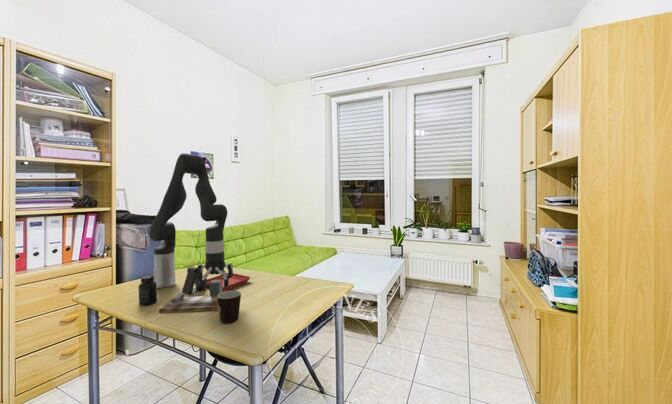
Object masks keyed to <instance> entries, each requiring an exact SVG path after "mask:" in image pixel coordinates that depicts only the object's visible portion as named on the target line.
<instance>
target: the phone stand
mask: <svg viewBox="0 0 672 404" xmlns="http://www.w3.org/2000/svg"><path fill="white" fill-rule="evenodd" d="M186 270H187V271H186V272H187V273H186V277H185V280H184V284H183V287H182V291H181V293H185V295H188V296H190V295H194V294H197V293H200V292H203V291H206V290H207V288H206V289H204V287H203V286H202V279H198V278H197V273H198V267H196V266H195V267H194V266H188V267H187V269H186ZM194 286H195V287H194Z"/></svg>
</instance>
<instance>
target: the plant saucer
mask: <svg viewBox="0 0 672 404" xmlns="http://www.w3.org/2000/svg"><path fill="white" fill-rule="evenodd" d="M226 273H227V274H228V272H226ZM251 278H252V277H251V276H248V275H243V274H238V273H234V272H233V276H232V277H231V278H229V285H228V286H227V288H224V278H223V276H221V275H220V274H218V275H216V276H213V277H211V278H206V279H207V288H210V282H211V281H212V280H222V292H225V291H229V290H231V289H234V288H236V287H238V286H241V285H244V284H246V283H248V282H249V280H250V279H251Z"/></svg>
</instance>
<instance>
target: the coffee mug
mask: <svg viewBox="0 0 672 404" xmlns="http://www.w3.org/2000/svg"><path fill="white" fill-rule="evenodd" d="M241 295H242V292H241V291H239V290H226V291H222V293H220V294H218V295H217V300H218V306H219V310H218V312H219V318H220V323H221V324H223V325H231V324H234V323H236V322H238V321H239V319H240V310H241V308H240V307H241V297H242V296H241Z"/></svg>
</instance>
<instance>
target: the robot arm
mask: <svg viewBox="0 0 672 404" xmlns="http://www.w3.org/2000/svg"><path fill="white" fill-rule="evenodd" d="M185 174H190V175H196V176H197V178H198V181H197V182H196V184H195V189H194V191H195V195H196V198H197V199H198V202H199V206H200V208H199V209H200V217H201V219H202V220H203V221H205V222H215V223H214V225H211V226H208V227H207V228H205V244H204V245H205V246H204V247H205V249H204V251H205V256H204V257H205V264H203V263H200V264H198V265H197V268H198V273H197V278H198V279H202V286H203V287H204V289H206V290H207V288H208V287H207V279H208V278H207V277H209V275H211V276H212V275H221V276H223V278H224V288H227V286H228V285H229V278H231V277H232V276H233V273H234V270H233V263H232V262H230V263H226V262H225V242H224V231H225V230H224V229H225V225H226V221H227V217H228V209H227V207H226V205H224V204H221V203H220V204H216V202H217V198H218V197H217V195H216V194H215V192H214V190H213V188H212V186H211V183H210V182H211V181H210V178H209V174H208V170H207V167H206V163H205V160H204V158H203V157H202V156H201V155H195V154H191V153H183V152H182V153H181V154H179V156H178V157H177V160H176V162H175V165H174V168H173V173H172V176H171V180H170V181H169V185H168V187H167V189H166V192H165V194H164V196H163V199H162V202H161V205H160V207H159V210H158V212H157V214H156V216H155V217H154V220H153V222H152V223H151V225H150V227H149V231H148V235H149V238H150V240H151V241H154V242H160V241H162V243H161V244H160V245H158V246H156V247H155V248H154V250H153V258H154V259H153V260H154V261H153V262H154V268H153V269H152V276H154V280H153V281H155V282H156V283H157V289H163V288H164V289H165V288H168V287H173V286H175V285H176V260H175V259H176V257H175V248H176V239H177V237H176V235H177V232H176V226H175V224H174V223H173V222H171V221H169V220H170V219H172V218H173V217H174V216H175V215H177V213H179V212H180V211H181V210H182V208H183V206H184V205H185V202H186V200H187V198H188V196H187V191H186V188H185V186H184V181H183V180H184V179H183V178H184V176H185ZM204 269H205V270H206V272H205V274H203V271H204ZM225 269H227V271H226V270H225ZM227 273H228V274H227Z"/></svg>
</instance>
